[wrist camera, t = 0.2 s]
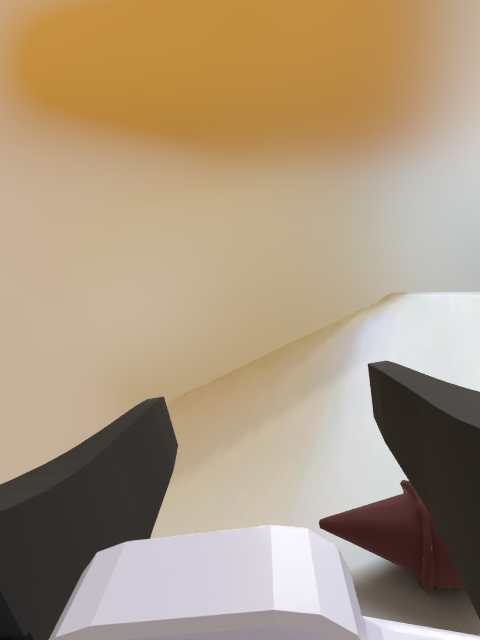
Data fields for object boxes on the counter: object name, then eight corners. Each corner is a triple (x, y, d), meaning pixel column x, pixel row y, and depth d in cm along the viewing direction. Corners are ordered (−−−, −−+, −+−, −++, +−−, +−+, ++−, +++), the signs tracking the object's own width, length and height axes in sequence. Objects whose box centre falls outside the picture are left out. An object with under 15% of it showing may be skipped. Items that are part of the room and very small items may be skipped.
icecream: (315, 550, 22) (598, 582, 18) (316, 454, 29) (527, 463, 25) (322, 599, 26) (563, 635, 22) (321, 504, 32) (508, 518, 28)
